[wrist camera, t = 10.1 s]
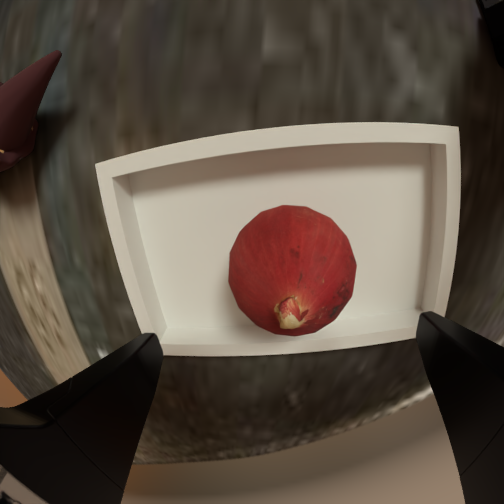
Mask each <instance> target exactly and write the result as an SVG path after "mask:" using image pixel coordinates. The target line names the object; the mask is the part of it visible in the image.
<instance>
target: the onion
mask: <svg viewBox="0 0 504 504" xmlns="http://www.w3.org/2000/svg"><path fill="white" fill-rule="evenodd" d="M356 269H357V264H356V260H355V257H354V254H353V251H352V248H351V245H350V242H349V240H348V238H347V236H346V234H345V233H344V232H343V231H342V230H341V229H340V228H339V226H338V225H337V224H336V223H335V222H334V221H333V220H332V219H331V218H330V217H328V216H326V215H323V214H321V213H319V212H317V211H315V210H313V209H311V208H309V207H307V206H295V205H281V206H278V207H274V208H271V209H268V210H265V211H262V212H260V213H259V214H258V215H257V216H255V217H254V218H253V219H252V220H251V221H250V222H249V223H248V224H246V225H245V226H244V227H243V228H242V230H241V231H240V232H239V234H238V236H237V238H236V240H235V242H234V244H233V246H232V249H231V251H230V254H229V276H228V283H229V286H230V288H231V291H232V293H233V296H234V298H235V300H236V303H237V305H238V307H239V309H240V310H241V311H242V312H243V313H244V314H245V315H246V316H247V317H248V318H249V319H250V320H251V321H252V322H253V323H254V324H255V325H256V326H258V327H260V328H262V329H265V330H267V331H269V332H271V333H273V334H276V335H286V336H301V335H306V334H311V333H316V332H317V331H319V330H320V329H322V328H324V327H325V326H327V325H328V324H330V323H331V322H333V321H334V320H335V319H336V318H337V317H338V316H339V314H340V313H341V311H342V310H343V309H344V307H345V306H346V304H347V303H348V302H349V300H350V299H351V297H352V295H353V290H354V283H355V276H356Z"/></svg>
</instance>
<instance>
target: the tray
mask: <svg viewBox="0 0 504 504" xmlns="http://www.w3.org/2000/svg"><path fill="white" fill-rule="evenodd" d="M95 166H96V172H97V178H98V183H99V188H100V193H101V198H102V202H103V207H104V211H105V215H106V220H107V224H108V228H109V232H110V236H111V240H112V243H113V247H114V251H115V254H116V258H117V261H118V265H119V268H120V271H121V274H122V278H123V281H124V284H125V287H126V290H127V293H128V296H129V299H130V302H131V305H132V308H133V311H134V313H135V316H136V319H137V322H138V324H139V327H140V330H141V332H142V334H143V333H155V334H156V335H157V336H158V339H159V342H160V344H161V347H162V350H163V355H174V356H254V355H276V354H292V353H305V352H317V351H327V350H336V349H345V348H353V347H361V346H368V345H375V344H382V343H388V342H394V341H400V340H406V339H411V338H416V330H417V325H418V320H419V316H420V314H421V313H422V312H427V311H433V312H435V313H437V314H439V315H441V316H443V317H445V312H446V308H447V303H448V298H449V293H450V288H451V283H452V277H453V271H454V264H455V257H456V249H457V240H458V229H459V216H460V194H461V161H460V140H459V127H455V126H444V125H432V124H416V123H387V122H358V123H328V124H311V125H297V126H286V127H276V128H267V129H258V130H250V131H243V132H236V133H229V134H223V135H217V136H211V137H205V138H200V139H195V140H189V141H184V142H179V143H175V144H170V145H165V146H161V147H157V148H152V149H148V150H144V151H140V152H136V153H132V154H129V155H125V156H121V157H118V158H114V159H111V160H107V161H104V162H100V163H97V164H95ZM281 205H295V206H307V207H309V208H311V209H313V210H315V211H317V212H319V213H321V214H323V215H326V216H328V217H330V218H331V219H332V220H333V221H334V222H335V223H336V224H337V225H338V226H339V228H340V229H341V230H342V231H343V232H344V233H345V234H346V236H347V238H348V240H349V242H350V245H351V248H352V251H353V254H354V257H355V260H356V264H357V269H356V276H355V283H354V290H353V295H352V297H351V299H350V300H349V302H348V303H347V304H346V306H345V307H344V309H343V310H342V311H341V313H340V314H339V316H338V317H337V318H336V319H335V320H334V321H333V322H331V323H330V324H328V325H327V326H325V327H324V328H322V329H320V330H319V331H317V332H316V333H311V334H306V335H301V336H286V335H276V334H273V333H271V332H269V331H267V330H265V329H262V328H260V327H258V326H256V325H255V324H254V323H253V322H252V321H251V320H250V319H249V318H248V317H247V316H246V315H245V314H244V313H243V312H242V311H241V310H240V309H239V307H238V305H237V303H236V300H235V298H234V296H233V293H232V291H231V288H230V286H229V283H228V276H229V254H230V251H231V249H232V246H233V244H234V242H235V240H236V238H237V236H238V234H239V232H240V231H241V230H242V228H243V227H244V226H245V225H246V224H248V223H249V222H250V221H251V220H252V219H253V218H254V217H255V216H257V215H258V214H259V213H260V212H262V211H265V210H268V209H271V208H274V207H278V206H281Z"/></svg>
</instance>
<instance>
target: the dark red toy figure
mask: <svg viewBox="0 0 504 504" xmlns="http://www.w3.org/2000/svg"><path fill="white" fill-rule="evenodd" d="M61 56H62V53H61V52H60V51H59V50H56V51H54V52H52V53H50V54H48V55H46V56H45V57H43V58H41V59H40V60H38V61H37V62H35V63H33V64H32V65H30V66H29V67H27V68H26V69H24V70H23V71H21V72H20V73H18V74H17V75H15V76H14V77H12V78H11V79H10V80H8V81H7V82H5V83H4V84H3V83H1V82H0V172H2V171H4V170H7V169H9V168H12V167H13V166H14V165H15V164H16V163H18V162H19V161H20V160H21V159H22V158H24V157H26V156H27V155H29V154H30V153H31V152H32V151H33V149H34V146H35V139H36V134H37V130H38V127H39V124H38V122H37V120H36V118H35V117H36V114H37V111H38V108H39V106H40V103H41V100H42V98H43V95H44V93H45V90H46V88H47V86H48V83H49V81H50V79H51V77H52V75H53V72H54V70H55V68H56V66H57V64H58V62H59V60H60V58H61Z"/></svg>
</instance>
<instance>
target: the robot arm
mask: <svg viewBox="0 0 504 504" xmlns="http://www.w3.org/2000/svg"><path fill="white" fill-rule="evenodd" d="M479 2H480V5H481V8H482V10H483V13H484V16H485V19H486V22H487V25H488V28H489V31H490V34H491V38H492V41H493V45H494V48H495V52H496V56H497V60H498V63H499V64H500V66H501V67H503V68H504V62H503V61H504V0H501V1H499V0H479ZM416 340H417V343H418V346H419V350H420V353H421V356H422V360H423V364H424V367H425V371H426V374H427V377H428V380H429V382H430V385H431V387H432V390H433V393H434V395H435V398H436V401H437V404H438V406H439V409H440V412H441V415H442V418H443V421H444V424H445V427H446V430H447V433H448V436H449V440H450V443H451V446H452V450H453V453H454V457H455V461H456V464H457V467H458V472H459V475H460V481H461V485H462V490H463V494H464V499H465V504H504V347H502V346H500V345H498V344H496V343H494V342H493V341H491V340H489V339H487V338H485V337H483V336H481V335H479V334H477V333H475V332H473V331H471V330H469V329H467V328H465V327H463V326H461V325H459V324H457V323H455V322H453V321H451V320H449V319H447V318H445V317H443V316H441V315H439V314H437V313H435V312H433V311H427V312H422V313H421V314H420V316H419V320H418V325H417V330H416ZM162 361H163V350H162V347H161V344H160V342H159V339H158V336H157V335H156V334H155V333H143V334H142V335H140V336H138V337H137V338H135V339H133V340H132V341H130V342H129V343H127V344H125V345H124V346H122V347H120V348H119V349H117V350H116V351H114V352H112V353H111V354H109V355H107V356H106V357H104V358H102V359H101V360H99V361H97V362H96V363H94V364H93V365H91V366H89V367H88V368H86V369H84V370H83V371H81V372H79V373H78V374H76V375H74V376H73V377H72V378H69V379H68V380H66V381H64V382H63V383H61V384H59V385H57V386H56V387H54V388H52V389H50V390H48V391H46V392H44V393H42V394H40V395H38V396H36V397H34V398H32V399H30V400H28V401H26V402H24V403H22V404H20V405H17V406H15V407H10V408H3V407H0V504H121V500H122V497H123V493H124V489H125V486H126V482H127V479H128V476H129V472H130V469H131V466H132V462H133V459H134V456H135V453H136V449H137V446H138V443H139V440H140V437H141V434H142V431H143V428H144V425H145V421H146V418H147V415H148V412H149V409H150V406H151V404H152V401H153V398H154V395H155V391H156V387H157V383H158V378H159V374H160V369H161V365H162Z"/></svg>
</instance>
